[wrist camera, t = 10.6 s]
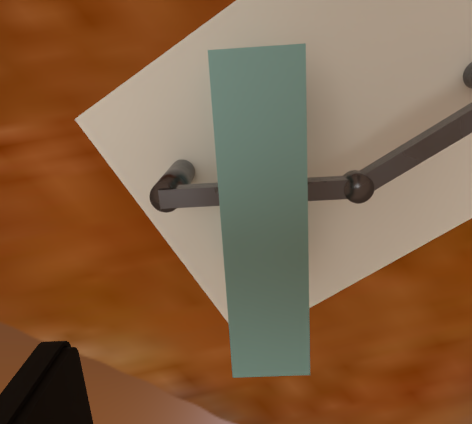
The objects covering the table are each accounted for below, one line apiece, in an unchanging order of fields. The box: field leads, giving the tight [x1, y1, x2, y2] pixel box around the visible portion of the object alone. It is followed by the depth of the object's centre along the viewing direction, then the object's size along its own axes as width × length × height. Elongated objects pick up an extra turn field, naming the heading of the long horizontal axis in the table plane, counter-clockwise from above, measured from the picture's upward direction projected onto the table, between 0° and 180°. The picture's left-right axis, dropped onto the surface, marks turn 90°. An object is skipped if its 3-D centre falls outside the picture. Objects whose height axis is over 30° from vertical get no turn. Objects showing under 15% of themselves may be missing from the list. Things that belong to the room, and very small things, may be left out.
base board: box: [75, 0, 472, 323], centre depth 34 cm, size 30×24×2 cm
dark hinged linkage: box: [149, 63, 472, 213], centre depth 30 cm, size 25×5×8 cm, turn 109°
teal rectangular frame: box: [208, 43, 310, 378], centre depth 27 cm, size 6×16×15 cm, turn 4°
